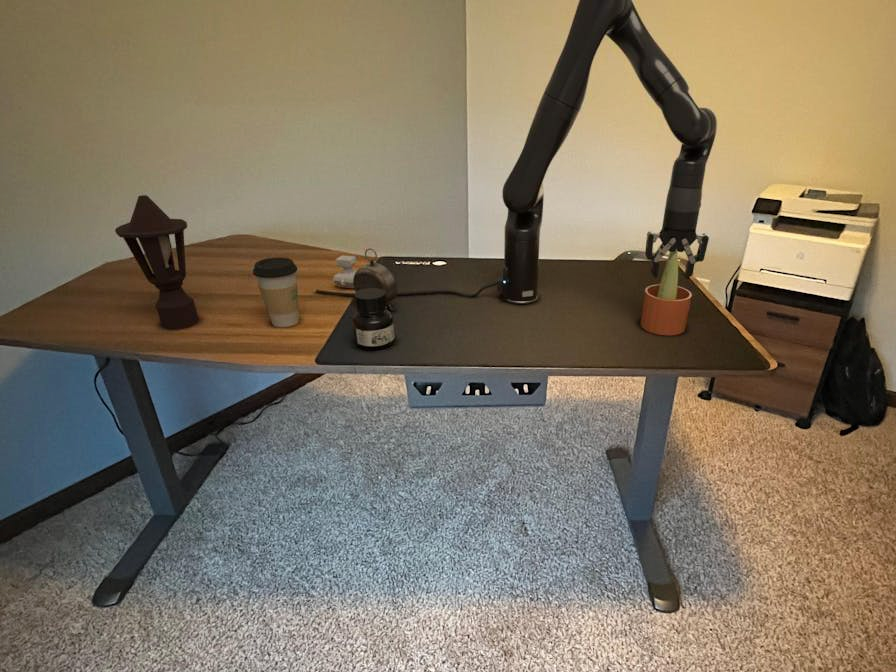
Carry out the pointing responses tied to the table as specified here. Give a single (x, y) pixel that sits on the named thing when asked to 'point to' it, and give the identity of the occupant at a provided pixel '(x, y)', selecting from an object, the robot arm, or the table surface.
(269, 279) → the coffee cup
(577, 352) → the table surface
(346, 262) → the stamp
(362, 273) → the alarm clock
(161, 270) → the lantern
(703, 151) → the robot arm
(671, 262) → the tube
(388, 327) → the ink bottle
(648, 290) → the pen cup
